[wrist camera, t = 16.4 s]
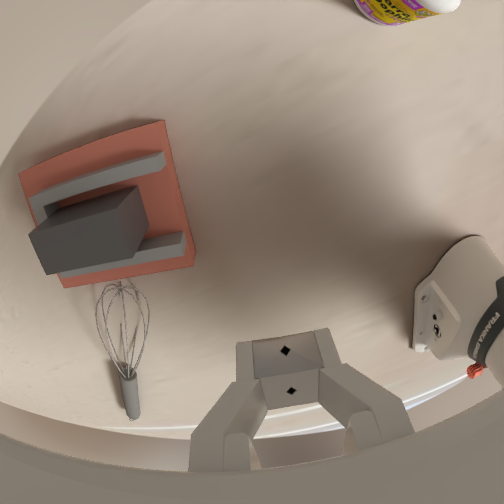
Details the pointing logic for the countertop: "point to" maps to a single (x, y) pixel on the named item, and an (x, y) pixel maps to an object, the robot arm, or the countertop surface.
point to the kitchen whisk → (125, 373)
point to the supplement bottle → (403, 9)
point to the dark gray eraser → (91, 232)
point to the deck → (112, 179)
